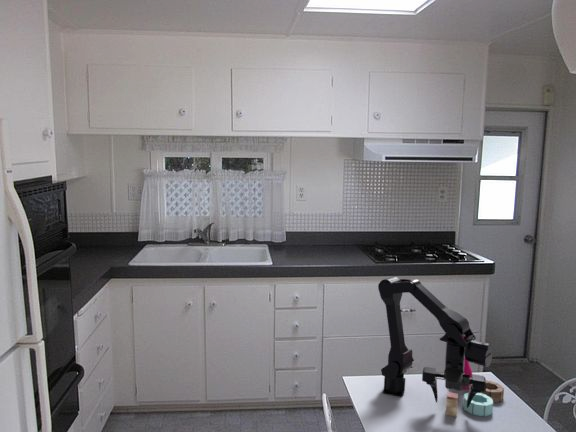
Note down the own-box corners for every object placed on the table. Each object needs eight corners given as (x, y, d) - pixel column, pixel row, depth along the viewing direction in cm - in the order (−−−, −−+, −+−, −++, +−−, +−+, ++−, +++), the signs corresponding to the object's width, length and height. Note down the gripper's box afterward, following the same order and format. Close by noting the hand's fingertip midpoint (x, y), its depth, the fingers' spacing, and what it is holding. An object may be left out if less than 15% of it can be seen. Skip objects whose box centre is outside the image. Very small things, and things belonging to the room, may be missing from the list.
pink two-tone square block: (445, 414, 149) (447, 396, 148) (446, 409, 152) (447, 392, 151) (456, 416, 148) (457, 398, 147) (456, 411, 151) (457, 393, 150)
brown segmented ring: (482, 402, 157) (483, 392, 157) (470, 389, 166) (471, 380, 166) (507, 402, 158) (508, 392, 157) (494, 389, 166) (495, 380, 166)
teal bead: (463, 412, 150) (464, 402, 150) (463, 400, 158) (463, 390, 158) (493, 418, 147) (493, 407, 147) (491, 405, 156) (491, 395, 155)
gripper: (422, 362, 143) (419, 411, 145) (489, 372, 137) (485, 423, 139) (424, 349, 154) (421, 394, 155) (486, 358, 148) (483, 405, 149)
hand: (451, 404), depth 150 cm, fingers open, 9 cm apart
